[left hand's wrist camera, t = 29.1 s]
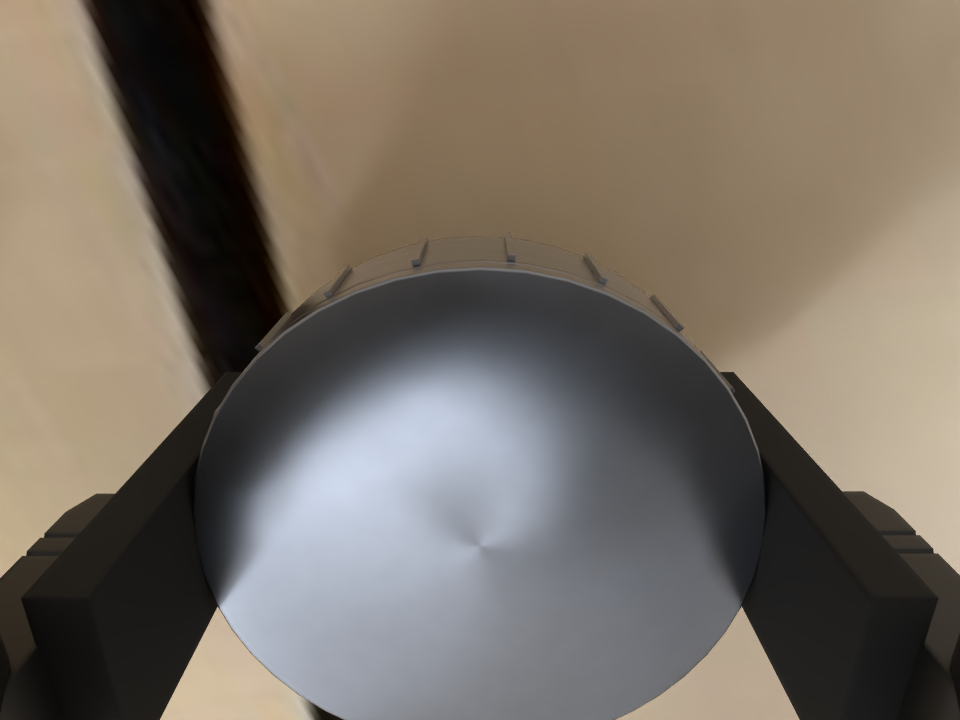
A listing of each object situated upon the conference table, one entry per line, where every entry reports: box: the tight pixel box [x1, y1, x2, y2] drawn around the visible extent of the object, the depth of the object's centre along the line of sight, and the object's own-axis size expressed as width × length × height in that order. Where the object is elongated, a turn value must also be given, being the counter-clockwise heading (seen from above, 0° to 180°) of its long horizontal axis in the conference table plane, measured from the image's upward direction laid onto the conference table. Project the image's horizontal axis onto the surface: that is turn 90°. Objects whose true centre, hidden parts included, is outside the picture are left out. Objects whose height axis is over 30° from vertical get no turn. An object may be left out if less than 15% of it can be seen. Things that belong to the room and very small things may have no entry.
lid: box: [193, 233, 766, 720], centre depth 11 cm, size 9×9×2 cm
